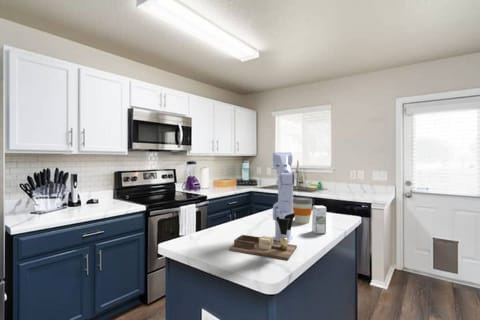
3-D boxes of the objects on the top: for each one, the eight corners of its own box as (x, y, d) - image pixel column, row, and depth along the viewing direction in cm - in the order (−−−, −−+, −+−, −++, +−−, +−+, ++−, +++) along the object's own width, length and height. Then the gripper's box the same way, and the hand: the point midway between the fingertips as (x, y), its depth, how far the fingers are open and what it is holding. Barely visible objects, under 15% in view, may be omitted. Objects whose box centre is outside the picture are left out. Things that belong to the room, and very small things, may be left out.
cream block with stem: (262, 244, 118) (262, 233, 118) (288, 248, 113) (288, 237, 113) (258, 247, 113) (258, 236, 113) (285, 252, 108) (285, 240, 108)
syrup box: (322, 231, 144) (322, 205, 144) (326, 234, 138) (326, 207, 138) (312, 231, 144) (312, 205, 144) (315, 234, 138) (315, 207, 138)
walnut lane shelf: (244, 239, 128) (244, 232, 128) (296, 247, 117) (296, 239, 117) (229, 250, 113) (229, 242, 113) (288, 260, 102) (288, 251, 102)
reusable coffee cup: (291, 219, 172) (291, 196, 172) (310, 219, 170) (311, 197, 170) (292, 223, 159) (292, 199, 159) (313, 224, 158) (313, 200, 157)
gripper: (281, 197, 119) (281, 226, 119) (272, 202, 106) (271, 235, 106) (296, 198, 116) (296, 228, 116) (289, 203, 103) (288, 237, 103)
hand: (285, 232), depth 111 cm, fingers open, 7 cm apart
